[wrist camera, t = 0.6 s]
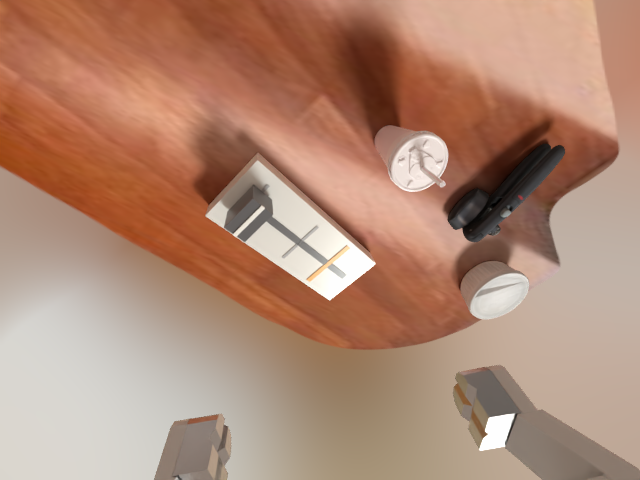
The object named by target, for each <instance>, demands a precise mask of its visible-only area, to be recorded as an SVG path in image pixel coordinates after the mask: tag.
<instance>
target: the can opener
mask: <svg viewBox="0 0 640 480" xmlns="http://www.w3.org/2000/svg"><path fill="white" fill-rule="evenodd" d="M564 154H565V149H564V147H563V146H561V145H558V146H555V147H554V148H552V149H551V146H550V145H549V144H542V145H540V146H539V147H537V148H536V149H535V150H534V151H533V152H532V153H531V154H530V155H528V156H527V157H526V158H525V159H524V160H523V161H522V162H521V163H520V164H519V165H518V166H517V168H516V169H515V170H514V171H513V172H512V173H511V174H510V175H509V176H508V178H507V179H506V180H505V181H504V182H503V183H502V184H501V186H500V187H499V188H498V189H497V190H496V191H495V192H494V193H493V194H492V195H491V196H490V197H489V195H488V193H486V192H484V191H482V190H480V189H479V188H476V189H474V190H472V191H470V192H469V193H468V194H466V195H465V196H464V197H463V198H462V199H461V200H460V201H459V202H458V203H457V204H456V205H455V207H454V208H453V209H452V211H451V212H450V214H449V216H448V222H449V223H450V225H451V226H452V227H453V229H455V230H457V229H460V228H463V234H464V236H465V238H466V239H467V240H469V241H471V242H478V241H480V240H481V239H483V238H484V237H485V236H486V235H487V234H489V235H492V236H494V235H497V234H498V233H499V232H500V229H501V228H500V227H499V225H498V224H499V223H500V222H502V221H503V220H504V219H505V218H506V217H507V216H509V215H510V214H511V213H512V212H513V211H514V210H515V209H516V208H517V207H518V206H519V205H520V204H521V203H522V202H523V201H524V200H525V199H526V198H527V197H528V196H529V195H530V194H531V193H532V192H533V191H534V190H535V189H536V188H537V187H538V186H539V185H540V184H541V182H542V181H543V180H544V179H545V178H546V177H547V176H548V175H549V174H550V172H551V171H552V170H553V169H554V168H555V166H556V165H557V164H558V163H559V161H560V160H561V159H562V158H563V156H564Z"/></svg>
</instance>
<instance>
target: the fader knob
mask: <svg viewBox="0 0 640 480" xmlns="http://www.w3.org/2000/svg"><path fill="white" fill-rule="evenodd" d="M272 215H273V205H272V199H271V198H270V197H268V196H267V195H266V194H265V193H263V192H262V191H261V190H260V189H259V188H257V187H256V186H255V185H254V184H253V185H252V186H251V187H250V189H249V190H248V191H247V192H246V193H245V194H244V195H243V196H242V197H241V198H240V199H239V200H238V201H237V202H236V203H235V204H234V205H233V206H232V207H231V208H230V209H229V210H228V211H227V215H226V220H225V225H224V228H225V229H226V230H228V231H229V232H231V233H232V234H233V236H235V237H238V238H240V239H241V240H242V241H244V242H246V241H247V240H248V239H249V238H250V237H251V236H252V235H253V234H254V233H255V232H256V231H257V230H258V229H259V228H260V227H261V226H262V225H263V224H264V223H265V222H266V221H267V220H268V219H269V218H270V217H271V216H272Z"/></svg>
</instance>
